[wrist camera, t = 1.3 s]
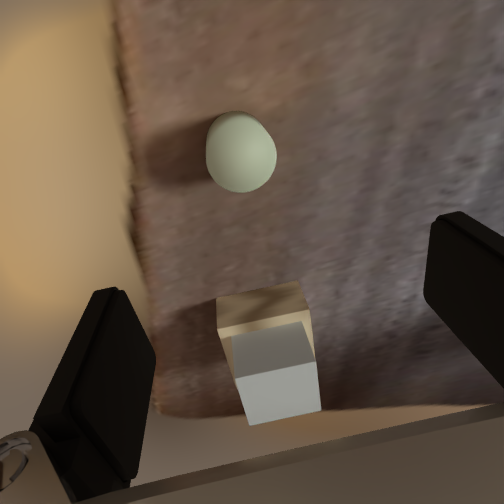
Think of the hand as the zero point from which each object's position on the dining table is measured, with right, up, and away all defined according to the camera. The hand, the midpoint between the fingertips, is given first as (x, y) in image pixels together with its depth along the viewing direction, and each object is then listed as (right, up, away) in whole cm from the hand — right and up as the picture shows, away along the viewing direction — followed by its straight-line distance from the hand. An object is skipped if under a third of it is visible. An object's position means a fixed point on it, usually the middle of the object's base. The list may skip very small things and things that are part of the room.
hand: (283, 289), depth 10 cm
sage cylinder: (-2, +10, +17) cm, 20 cm away
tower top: (+1, -9, +24) cm, 26 cm away
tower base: (0, -6, +28) cm, 29 cm away
